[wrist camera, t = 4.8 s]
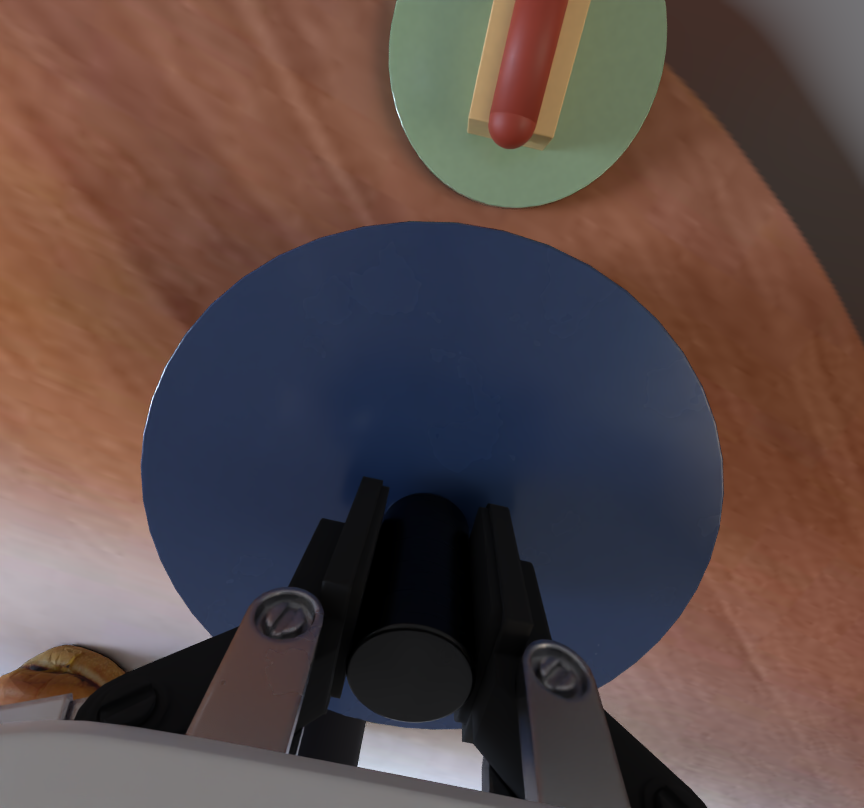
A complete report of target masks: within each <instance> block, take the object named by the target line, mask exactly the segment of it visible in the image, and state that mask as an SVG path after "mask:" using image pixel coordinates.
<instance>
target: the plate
mask: <svg viewBox="0 0 864 808" xmlns="http://www.w3.org/2000/svg"><path fill="white" fill-rule="evenodd" d="M492 4H493V0H397V2H396V5H395V10H394V15H393V19H392V24H391V32H390V41H389V73H390V82H391V89H392V94H393V98H394V103H395V107H396V110H397V113H398V116H399V119H400V122H401V124H402V127H403V129H404V131H405V134H406V136H407V138H408V140H409V142H410V144H411V146H412V147H413V149H414V150H415V152H416V153H417V155H418V156H419V158H420V160H421V161H422V162H423V163H424V164H425V166H426V167H427V168H428V169H429V170H430V171H431V173H432V174H433V175H434V176H436V177H437V178H438V179H439V180H440V181H441V182H442V183H443V184H444V185H446V186H447V187H449V188H450V189H452V190H453V191H455V192H456V193H458V194H459V195H461V196H463V197H465V198H468V199H470V200H472V201H474V202H477V203H480V204H483V205H487V206H491V207H497V208H503V209H525V208H533V207H539V206H542V205H546V204H550V203H553V202H556V201H558V200H561V199H563V198H566V197H568V196H570V195H572V194H574V193H575V192H577V191H579V190H581V189H583V188H584V187H586V186H587V185H589V184H590V183H592V182H593V181H594V180H596V179H597V178H598V177H600V176H601V175H602V174H603V173H604V172H605V171H606V170H608V169H609V168H610V167H611V166H612V165H613V164H614V163H615V162H616V161H617V160H618V158H619V157H620V156H621V155H622V154H623V153H624V151H625V150H626V149H627V148H628V146H629V145H630V144H631V142H632V141H633V139H634V138H635V136H636V135H637V133H638V132H639V130H640V128H641V126H642V124H643V122H644V121H645V119H646V117H647V115H648V113H649V111H650V108H651V106H652V103H653V101H654V98H655V96H656V93H657V90H658V86H659V83H660V79H661V75H662V72H663V66H664V59H665V53H666V40H667V17H666V4H665V0H591V2H590V5H589V9H588V13H587V16H586V20H585V24H584V27H583V31H582V35H581V38H580V42H579V46H578V49H577V53H576V57H575V61H574V64H573V68H572V72H571V75H570V79H569V83H568V86H567V90H566V94H565V97H564V101H563V105H562V108H561V112H560V116H559V120H558V123H557V127H556V131H555V134H554V137H553V139H552V140H551V141H550V142H549V144H548V145H547V146H546V147H545V148H544V150H542V151H541V150H537V149H533V148H529V147H524V146H521V147H519V148H516V149H505V148H502V147H500V146H498V145H497V144H496V143H495V142H494V141H493V139H491V138H487V137H482V136H478V135H474V134H470V133H468V132H467V128H468V116H469V112H470V107H471V102H472V98H473V93H474V88H475V84H476V79H477V74H478V70H479V65H480V60H481V56H482V51H483V46H484V42H485V37H486V32H487V28H488V23H489V18H490V14H491V9H492Z"/></svg>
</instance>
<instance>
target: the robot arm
mask: <svg viewBox="0 0 864 808" xmlns="http://www.w3.org/2000/svg"><path fill="white" fill-rule="evenodd" d="M382 485H383V480H379V479H375V478H370V477H365V476H363V478H362V481H361V483H360V486H359V488H358V491H357V494H356V496H355V499H354V501H353V504H352V506H351V509H350V512H349V514H348V517H347V519H346V522H345V523H344V522H339V521H334V520H330V519H325V518H322V519H321V520H320V522H319V524H318V526H317V528H316V530H315V532H314V534H313V536H312V538H311V540H310V542H309V544H308V547H307V549H306V551H305V553H304V555H303V557H302V559H301V561H300V563H299V565H298V567H297V569H296V571H295V573H294V576H293V578H292V580H291V582H290V584H289V586H288V587H280V588H274V589H271V590H269V591H267V592H264V593H262V594H261V595H260V596H258V597H257V598H256V599H254V601H253V602H252V603H251V605H250V606H249V607H248V609H247V611H246V613H245V615H244V617H243V619H242V621H241V623H240V625H239V626H238V627H236V628H233V629H231V630H229V631H226V632H224V633H221V634H219V635H217V636H214V637H212V638H209V639H207V640H205V641H202V642H200V643H197V644H195V645H193V646H190V647H188V648H185V649H183V650H181V651H178V652H176V653H173V654H171V655H169V656H166V657H164V658H161V659H159V660H157V661H154V662H152V663H149V664H147V665H145V666H142V667H140V668H137V669H135V670H133V671H130V672H128V673H125V674H123V675H121V676H118V677H117V678H115V679H113V680H111V681H109V682H107V683H105V684H104V685H102V686H101V687H100V688H99V689H97V690H96V691H95V692H94V693H92V694H91V695H90V696H89V697H86V698H81V699H75V700H73V694H72V693H69V694H63V695H58V696H52V697H46V698H41V699H35V700H30V701H24V702H19V703H13V704H7V705H2V706H0V808H707V807H706V805H705V804H704V802H703V801H702V800H701V799H700V798H699V797H698V796H697V795H696V794H695V793H694V792H693V791H692V790H691V789H690V788H689V787H688V786H687V785H686V784H685V783H684V782H683V781H682V780H681V779H679V778H678V777H677V776H676V775H675V774H674V773H673V772H672V771H671V770H670V769H669V768H667V767H666V766H665V765H664V764H663V763H662V762H661V761H660V760H659V759H658V758H656V757H655V756H654V755H653V754H652V753H651V752H650V751H649V750H648V749H647V748H646V747H644V746H643V745H642V744H641V743H640V742H639V741H638V740H637V739H636V738H635V737H634V736H632V735H631V734H630V733H629V732H628V731H627V730H626V729H625V728H624V727H623V726H622V725H620V724H619V723H618V722H617V721H616V720H615V719H614V718H613V717H612V716H611V715H610V714H608V713H607V712H606V711H605V710H604V709H603V706H602V703H601V699H600V696H599V692H598V688H597V685H596V681H595V678H594V676H593V674H592V671H591V669H590V668H589V666H588V665H587V664H586V662H585V661H584V660H583V658H581V657H580V656H579V655H578V654H577V653H576V652H575V651H574V650H572V649H571V648H569V647H567V646H566V645H564V644H562V643H559V642H556V641H553V640H552V638H551V634H550V630H549V626H548V622H547V618H546V614H545V610H544V606H543V602H542V598H541V594H540V590H539V586H538V582H537V578H536V574H535V570H534V567H533V564H532V563H531V562H528V561H523V560H520V557H519V553H518V548H517V543H516V539H515V534H514V529H513V525H512V520H511V515H510V510H509V508H508V507H504V506H500V505H495V504H490V503H488V504H487V506H486V508H484V507H479V509H478V512H477V515H476V518H475V522H474V525H473V528H472V532H471V535H470V538H469V549H470V566H471V584H472V602H473V620H474V638H475V656H476V674H477V675H476V683H475V687H474V689H473V691H472V694H471V696H470V697H469V699H468V700H467V702H466V703H465V704H464V705H463V706H462V707H461V708H459V709H458V710H457V711H455V712H454V721H455V722H459V723H462V742H467V743H472V744H474V745H475V746H476V748H477V749H478V750H479V751H480V752H481V754H482V755H483V756H484V757H483V762H482V791H478V790H473V789H468V788H463V787H457V786H452V785H447V784H442V783H437V782H432V781H427V780H422V779H417V778H411V777H406V776H401V775H396V774H391V773H386V772H380V771H375V770H370V769H365V768H360V767H355V766H350V765H344V764H339V763H334V762H328V761H323V760H318V759H312V758H307V757H302V756H297V755H298V751H299V747H300V743H301V740H302V736H303V731H304V726H306V725H307V724H309V723H311V722H312V721H314V720H315V719H317V718H319V717H320V716H322V715H323V714H326V713H327V709H328V705H329V702H330V698H331V697H334V698H339V699H340V698H341V694H342V690H343V686H344V682H345V678H346V660H347V656H348V652H349V649H350V646H351V643H352V640H353V636H354V632H355V628H356V624H357V620H358V616H359V612H360V608H361V604H362V600H363V597H364V593H365V589H366V585H367V581H368V577H369V573H370V569H371V565H372V561H373V557H374V553H375V549H376V545H377V542H378V538H379V534H380V530H381V526H382V521H383V517H384V512H385V507H386V503H387V498H388V493H389V488H390V487H386V486H382Z"/></svg>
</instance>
